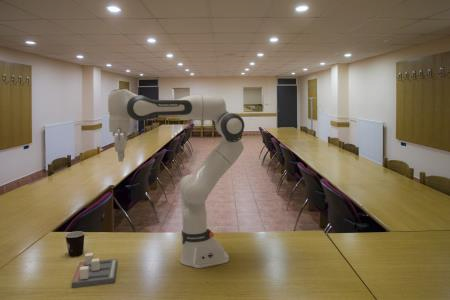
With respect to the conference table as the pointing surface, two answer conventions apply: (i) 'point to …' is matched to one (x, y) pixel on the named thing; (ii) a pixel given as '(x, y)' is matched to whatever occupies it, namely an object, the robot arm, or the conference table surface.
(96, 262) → the block
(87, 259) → the block
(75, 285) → the panel
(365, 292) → the conference table surface
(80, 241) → the coffee mug
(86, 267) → the block
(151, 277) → the conference table surface
